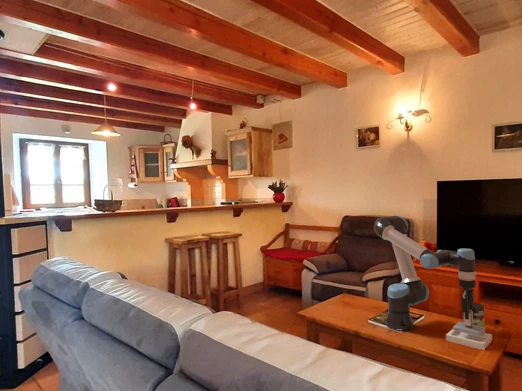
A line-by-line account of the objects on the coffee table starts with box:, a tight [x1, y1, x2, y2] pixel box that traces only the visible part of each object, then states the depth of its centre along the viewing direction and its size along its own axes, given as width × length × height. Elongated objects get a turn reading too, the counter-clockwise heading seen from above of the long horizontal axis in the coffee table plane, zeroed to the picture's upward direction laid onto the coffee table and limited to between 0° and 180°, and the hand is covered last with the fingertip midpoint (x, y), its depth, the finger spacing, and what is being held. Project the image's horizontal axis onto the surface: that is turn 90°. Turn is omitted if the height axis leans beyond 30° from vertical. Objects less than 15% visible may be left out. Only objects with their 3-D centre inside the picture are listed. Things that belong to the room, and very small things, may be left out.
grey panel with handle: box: [452, 309, 486, 336], centre depth 180 cm, size 12×10×11 cm
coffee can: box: [462, 301, 485, 327], centre depth 193 cm, size 10×10×14 cm
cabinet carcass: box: [445, 328, 493, 351], centre depth 180 cm, size 17×15×5 cm
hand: (468, 324), depth 180 cm, fingers closed on grey panel with handle, 3 cm apart
